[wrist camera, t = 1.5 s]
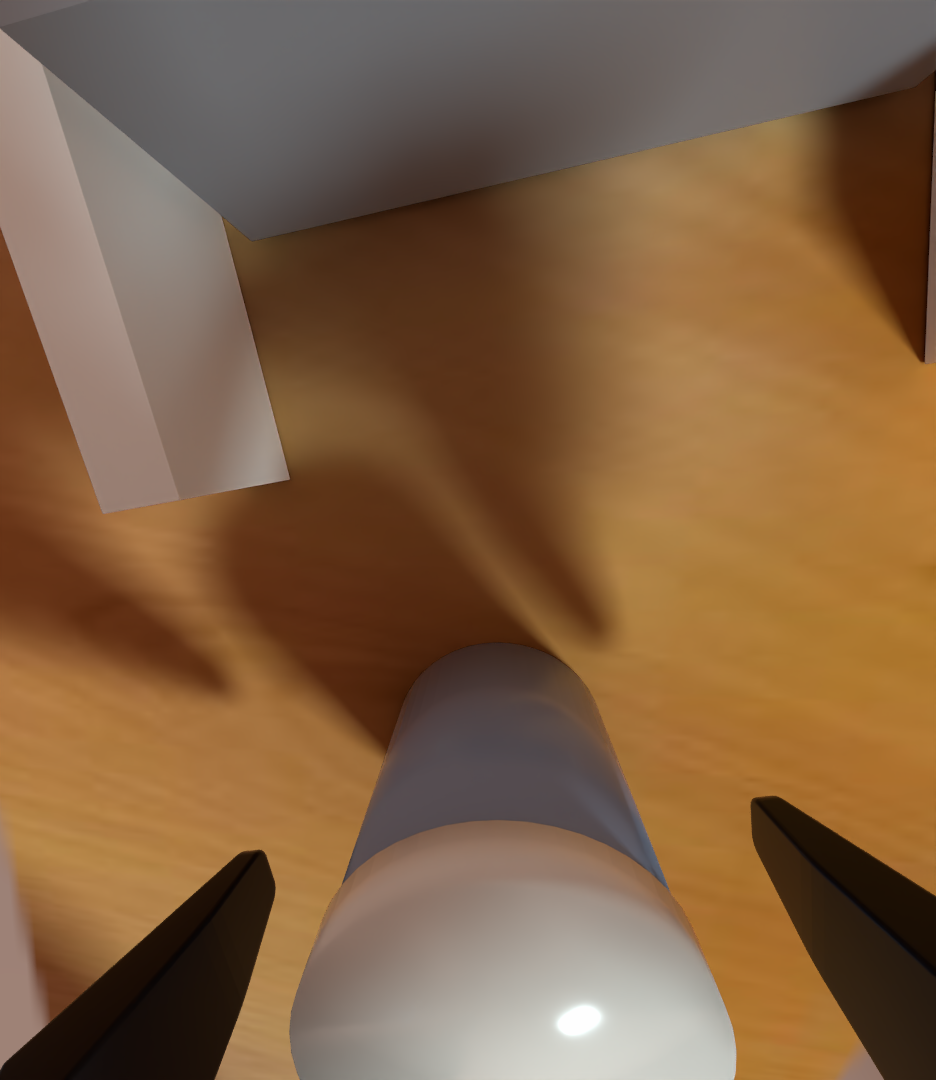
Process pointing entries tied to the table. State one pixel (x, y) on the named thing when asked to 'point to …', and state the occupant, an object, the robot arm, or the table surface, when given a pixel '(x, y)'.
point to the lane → (145, 301)
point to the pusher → (448, 86)
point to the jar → (505, 902)
